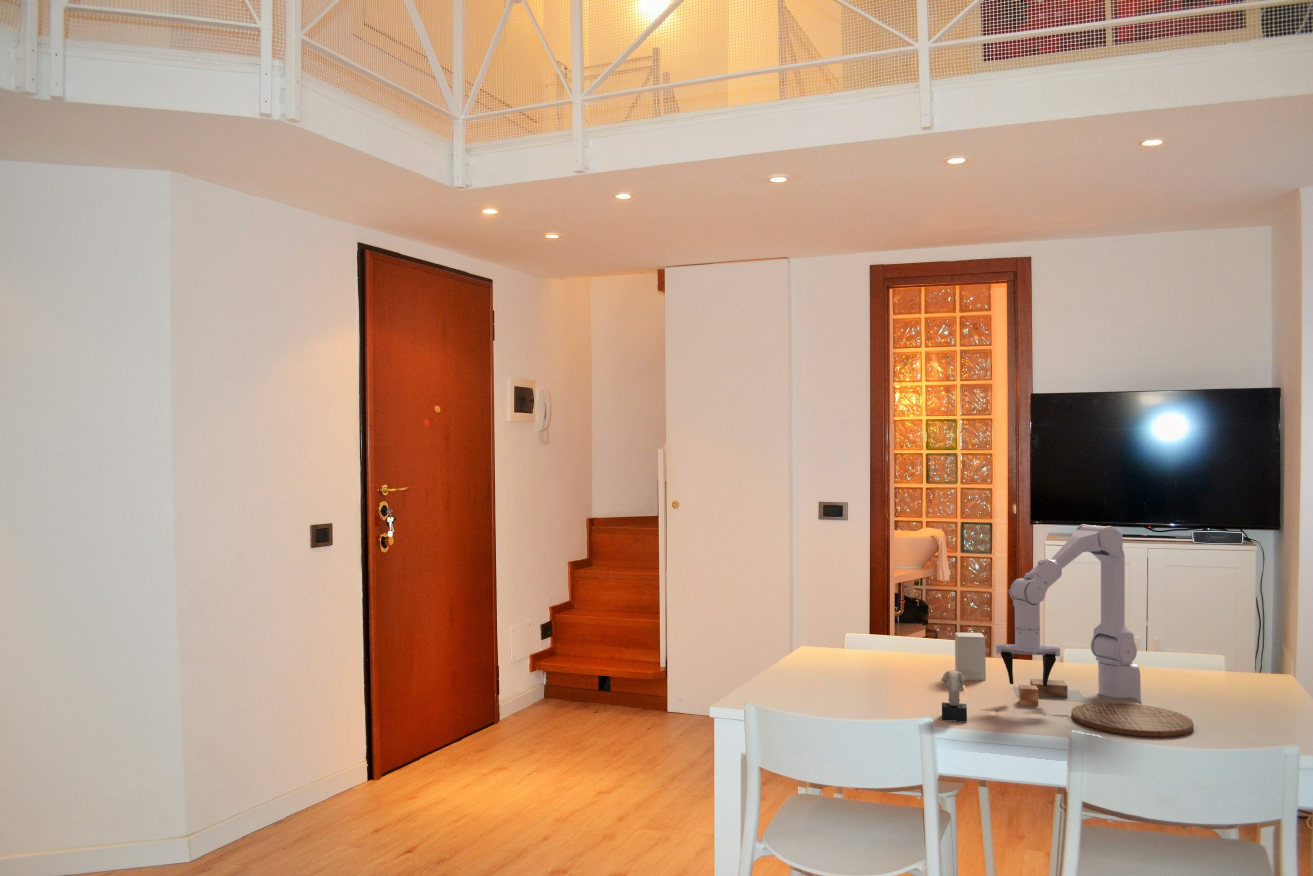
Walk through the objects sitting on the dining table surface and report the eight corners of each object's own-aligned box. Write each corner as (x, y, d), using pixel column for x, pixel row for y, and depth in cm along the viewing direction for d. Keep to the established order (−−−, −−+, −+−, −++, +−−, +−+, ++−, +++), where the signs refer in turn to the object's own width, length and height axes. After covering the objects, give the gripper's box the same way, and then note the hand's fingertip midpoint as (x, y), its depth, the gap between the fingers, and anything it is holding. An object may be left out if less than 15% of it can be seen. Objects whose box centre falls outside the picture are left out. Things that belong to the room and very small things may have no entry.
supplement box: (986, 684, 258) (985, 637, 259) (957, 683, 260) (957, 636, 260) (982, 678, 266) (982, 632, 266) (954, 677, 267) (954, 631, 267)
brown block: (1063, 692, 245) (1063, 680, 245) (1067, 697, 239) (1067, 685, 239) (1030, 690, 247) (1030, 678, 247) (1033, 696, 241) (1033, 684, 241)
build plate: (1078, 694, 246) (1078, 690, 246) (1087, 705, 235) (1087, 701, 235) (1012, 691, 250) (1012, 687, 251) (1017, 702, 239) (1017, 698, 239)
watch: (966, 715, 227) (965, 668, 227) (967, 724, 219) (966, 675, 219) (941, 713, 228) (940, 667, 229) (941, 722, 221) (941, 674, 221)
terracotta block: (1036, 706, 235) (1036, 685, 235) (1038, 710, 231) (1038, 689, 231) (1019, 705, 236) (1018, 684, 236) (1020, 709, 232) (1020, 688, 232)
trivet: (1207, 743, 204) (1207, 734, 204) (1080, 735, 211) (1080, 726, 211) (1177, 714, 228) (1177, 706, 228) (1064, 707, 235) (1064, 699, 235)
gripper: (997, 629, 232) (998, 686, 232) (1061, 632, 228) (1062, 689, 228) (995, 625, 239) (995, 679, 239) (1057, 627, 235) (1058, 683, 235)
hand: (1028, 684), depth 234 cm, fingers open, 7 cm apart
